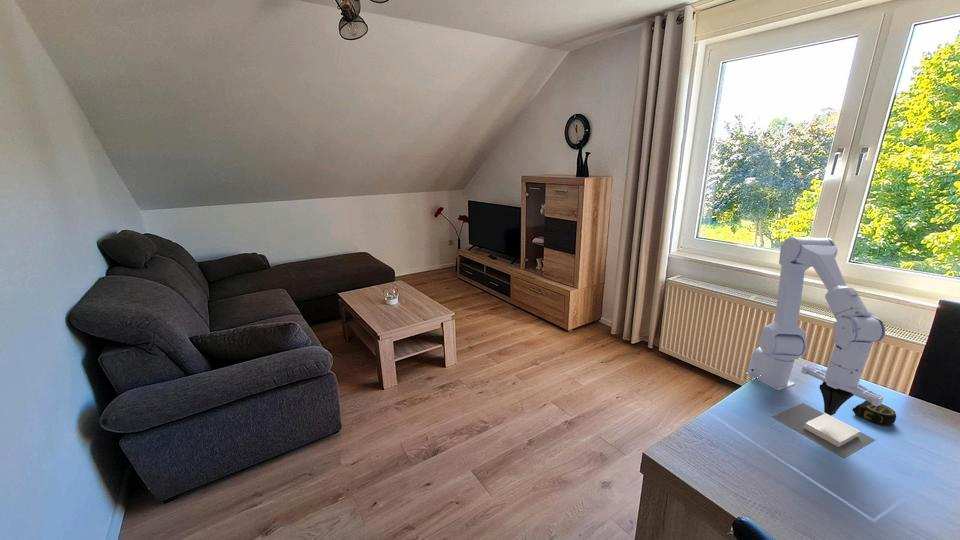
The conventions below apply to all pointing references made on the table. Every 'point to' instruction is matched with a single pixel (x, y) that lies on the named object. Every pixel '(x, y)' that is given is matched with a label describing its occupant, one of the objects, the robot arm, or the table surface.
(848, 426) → the cream rectangular panel
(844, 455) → the mat
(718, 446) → the table surface
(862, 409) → the tape measure
